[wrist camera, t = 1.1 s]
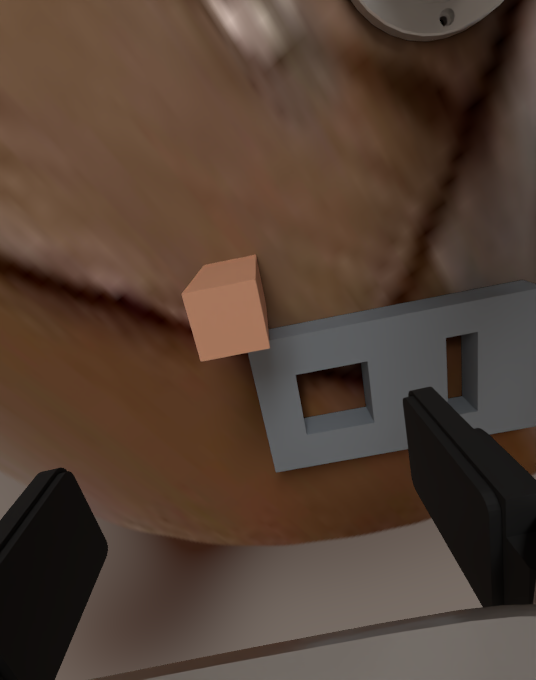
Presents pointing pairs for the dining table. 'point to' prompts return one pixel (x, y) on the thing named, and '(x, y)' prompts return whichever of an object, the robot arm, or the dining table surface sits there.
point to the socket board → (401, 371)
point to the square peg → (227, 309)
